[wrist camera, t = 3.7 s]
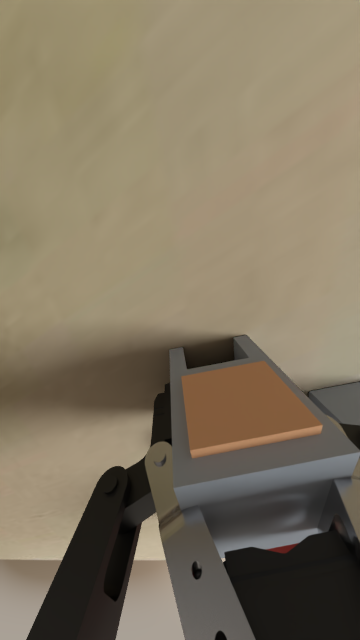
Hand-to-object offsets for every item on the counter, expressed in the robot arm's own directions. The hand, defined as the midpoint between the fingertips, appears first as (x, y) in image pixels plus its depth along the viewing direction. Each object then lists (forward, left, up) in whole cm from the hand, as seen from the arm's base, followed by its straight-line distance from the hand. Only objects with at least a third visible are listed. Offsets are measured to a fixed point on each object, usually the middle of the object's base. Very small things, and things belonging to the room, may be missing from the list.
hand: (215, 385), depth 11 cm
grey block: (0, 0, -1) cm, 1 cm away
